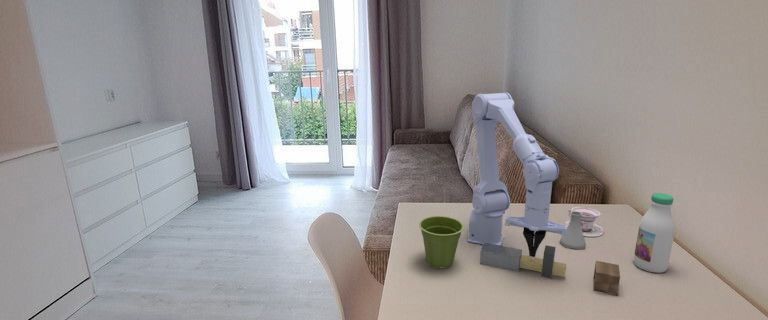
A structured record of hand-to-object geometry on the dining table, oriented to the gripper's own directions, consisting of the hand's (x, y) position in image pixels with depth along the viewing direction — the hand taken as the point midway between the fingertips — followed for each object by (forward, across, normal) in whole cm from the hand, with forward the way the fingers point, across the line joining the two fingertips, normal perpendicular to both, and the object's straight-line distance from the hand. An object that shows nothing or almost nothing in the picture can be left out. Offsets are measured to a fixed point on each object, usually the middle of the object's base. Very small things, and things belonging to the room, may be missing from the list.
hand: (532, 255), depth 106 cm
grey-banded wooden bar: (+4, -2, 0) cm, 5 cm away
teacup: (+5, +12, +34) cm, 36 cm away
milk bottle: (+5, +28, +16) cm, 33 cm away
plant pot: (+5, -23, -6) cm, 24 cm away
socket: (+5, +17, 0) cm, 18 cm away
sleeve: (+5, -8, 0) cm, 9 cm away
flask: (+5, +9, +21) cm, 23 cm away
